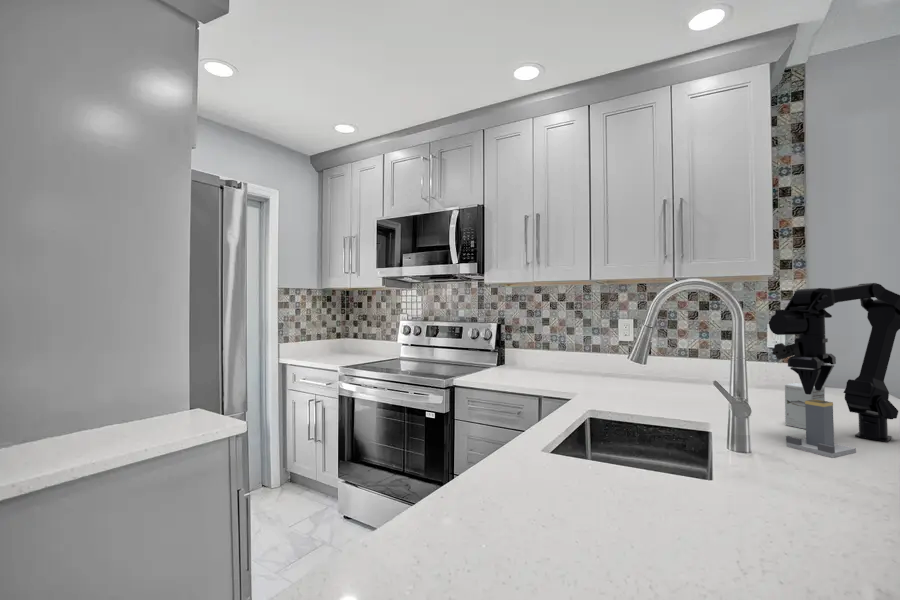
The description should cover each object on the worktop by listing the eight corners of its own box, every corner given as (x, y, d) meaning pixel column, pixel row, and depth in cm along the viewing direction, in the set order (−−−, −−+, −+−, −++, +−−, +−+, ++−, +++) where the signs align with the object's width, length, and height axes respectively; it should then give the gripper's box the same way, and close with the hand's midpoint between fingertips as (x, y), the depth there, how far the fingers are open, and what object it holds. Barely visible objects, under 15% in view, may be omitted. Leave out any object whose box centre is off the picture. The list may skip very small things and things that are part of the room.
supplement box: (784, 425, 134) (783, 384, 135) (798, 422, 137) (797, 382, 138) (812, 431, 128) (811, 387, 128) (826, 428, 131) (825, 385, 131)
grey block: (815, 442, 114) (814, 399, 114) (834, 446, 110) (832, 402, 110) (806, 443, 112) (805, 400, 112) (824, 448, 108) (823, 403, 109)
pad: (809, 441, 117) (809, 432, 117) (855, 452, 108) (855, 442, 108) (786, 446, 113) (786, 436, 114) (832, 457, 104) (832, 447, 104)
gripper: (786, 332, 131) (788, 385, 130) (764, 334, 120) (765, 392, 119) (835, 333, 122) (837, 390, 122) (815, 336, 111) (817, 398, 110)
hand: (813, 392), depth 118 cm, fingers open, 9 cm apart
